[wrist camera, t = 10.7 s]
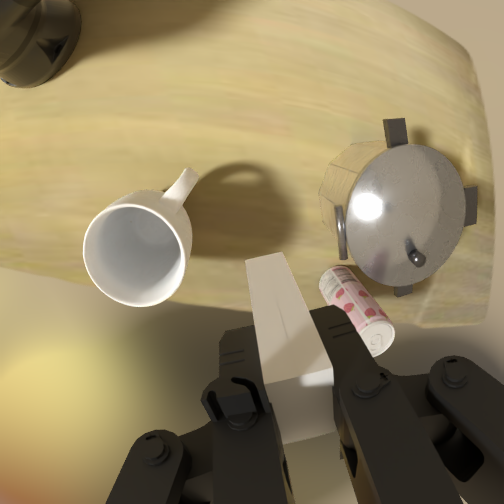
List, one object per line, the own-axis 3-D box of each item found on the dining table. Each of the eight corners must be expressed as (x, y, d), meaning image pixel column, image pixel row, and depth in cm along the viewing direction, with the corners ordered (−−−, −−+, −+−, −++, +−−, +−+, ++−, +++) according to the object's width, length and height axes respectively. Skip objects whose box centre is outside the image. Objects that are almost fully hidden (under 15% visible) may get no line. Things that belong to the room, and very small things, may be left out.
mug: (165, 140, 36) (136, 143, 24) (233, 189, 39) (236, 216, 27) (107, 229, 39) (66, 268, 27) (169, 272, 43) (150, 325, 31)
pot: (306, 126, 37) (332, 125, 27) (408, 115, 37) (451, 116, 27) (329, 278, 45) (352, 314, 36) (417, 254, 45) (451, 281, 36)
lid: (324, 154, 29) (333, 156, 26) (469, 138, 28) (484, 140, 25) (342, 298, 35) (349, 310, 32) (468, 260, 34) (479, 269, 32)
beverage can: (331, 304, 47) (366, 366, 33) (311, 281, 45) (344, 343, 31) (359, 281, 46) (403, 338, 32) (340, 257, 44) (385, 311, 30)
